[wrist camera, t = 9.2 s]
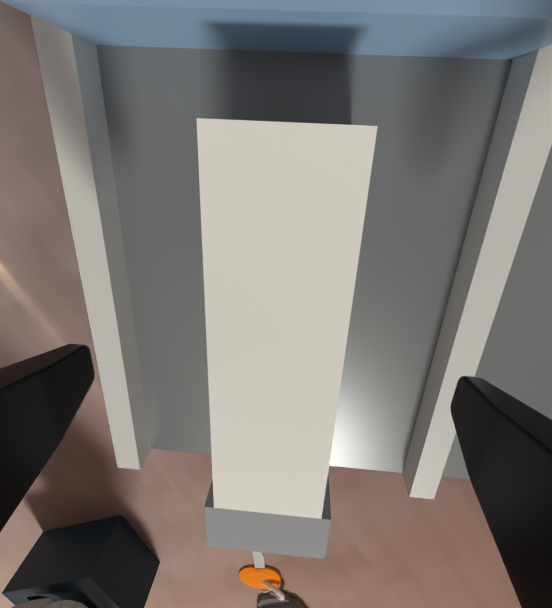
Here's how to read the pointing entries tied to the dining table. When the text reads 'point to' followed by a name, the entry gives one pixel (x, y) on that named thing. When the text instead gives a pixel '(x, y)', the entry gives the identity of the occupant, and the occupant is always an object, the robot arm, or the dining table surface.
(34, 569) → the bust statue
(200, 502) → the dining table surface
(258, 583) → the key chain
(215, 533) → the cream rectangular block
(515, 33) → the grey rimmed tray
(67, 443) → the dining table surface
